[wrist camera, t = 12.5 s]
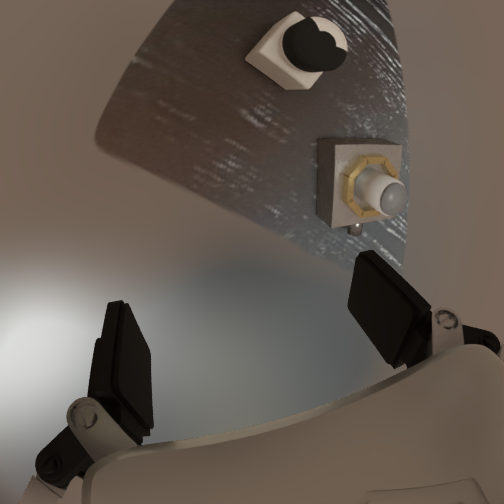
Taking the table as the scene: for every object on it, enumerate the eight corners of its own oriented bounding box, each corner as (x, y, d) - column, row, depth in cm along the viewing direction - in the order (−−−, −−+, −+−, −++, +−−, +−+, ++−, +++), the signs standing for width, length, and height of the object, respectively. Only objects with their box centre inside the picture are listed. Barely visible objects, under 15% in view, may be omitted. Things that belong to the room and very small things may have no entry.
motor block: (317, 138, 37) (340, 146, 32) (382, 138, 39) (407, 147, 34) (315, 231, 45) (333, 250, 40) (374, 221, 47) (394, 237, 42)
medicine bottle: (286, 91, 32) (331, 90, 22) (243, 59, 29) (273, 42, 19) (315, 55, 30) (367, 45, 20) (274, 23, 27) (316, -3, 17)
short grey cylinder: (356, 169, 35) (383, 182, 30) (383, 167, 36) (411, 180, 31) (353, 202, 38) (378, 220, 33) (380, 199, 39) (405, 215, 34)
